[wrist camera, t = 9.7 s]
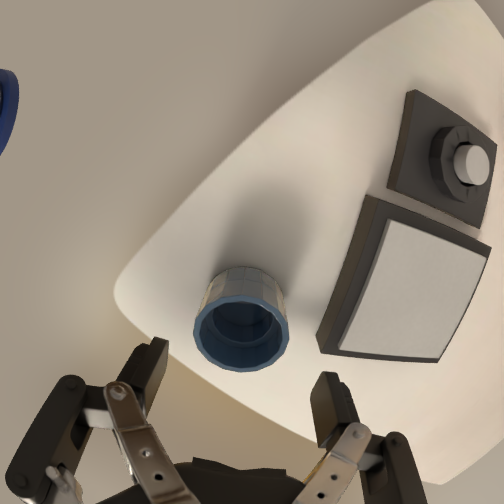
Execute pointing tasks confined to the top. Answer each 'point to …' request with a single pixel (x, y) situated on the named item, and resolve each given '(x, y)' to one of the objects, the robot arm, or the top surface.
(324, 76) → the top surface
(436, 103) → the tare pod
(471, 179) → the button
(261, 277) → the cup
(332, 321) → the scale
